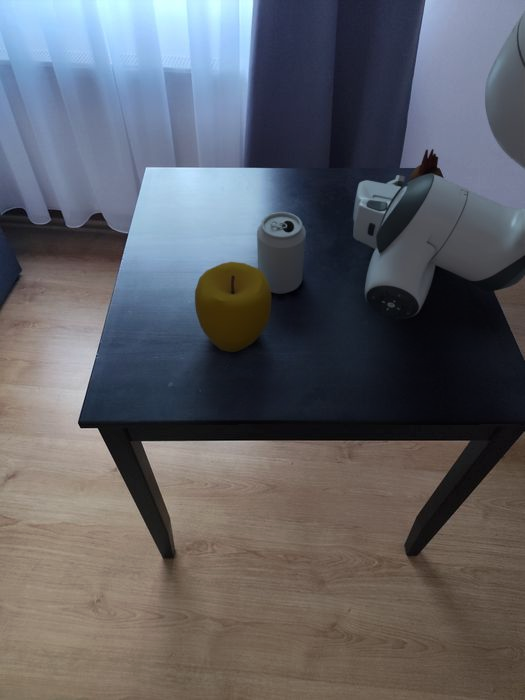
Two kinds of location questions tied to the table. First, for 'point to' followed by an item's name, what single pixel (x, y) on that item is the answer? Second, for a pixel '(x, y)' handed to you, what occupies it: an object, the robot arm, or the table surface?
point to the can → (281, 251)
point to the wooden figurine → (427, 166)
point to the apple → (233, 305)
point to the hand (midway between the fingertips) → (424, 184)
